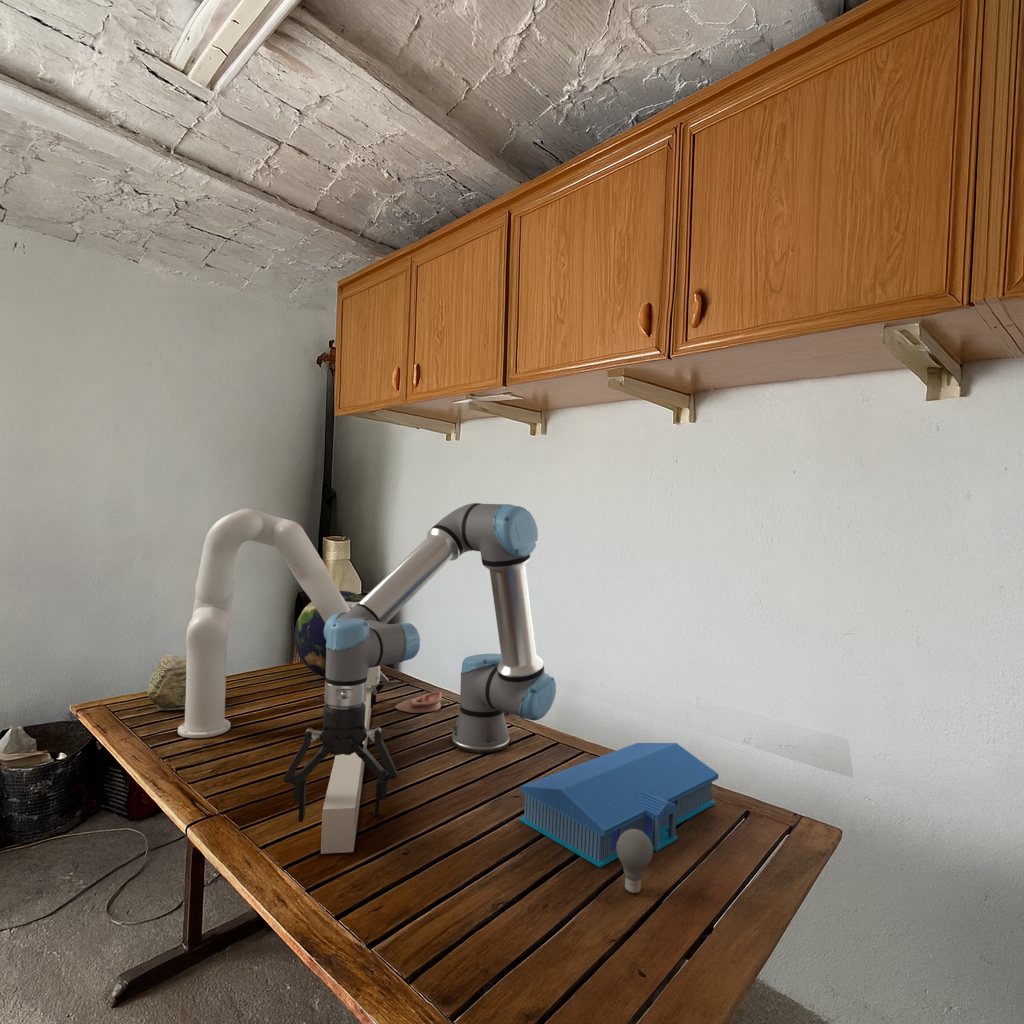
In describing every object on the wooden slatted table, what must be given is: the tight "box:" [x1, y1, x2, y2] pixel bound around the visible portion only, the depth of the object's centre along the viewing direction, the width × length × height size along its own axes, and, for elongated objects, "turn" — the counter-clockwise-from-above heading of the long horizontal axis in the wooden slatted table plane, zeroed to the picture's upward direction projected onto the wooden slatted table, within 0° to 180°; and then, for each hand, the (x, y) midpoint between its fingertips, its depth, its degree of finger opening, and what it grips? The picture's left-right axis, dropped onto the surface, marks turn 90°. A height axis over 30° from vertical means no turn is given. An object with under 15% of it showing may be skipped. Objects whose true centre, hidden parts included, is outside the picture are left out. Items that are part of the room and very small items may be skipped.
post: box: [320, 686, 372, 855], centre depth 150 cm, size 76×6×8 cm, turn 10°
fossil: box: [147, 654, 187, 712], centre depth 185 cm, size 9×18×15 cm, turn 132°
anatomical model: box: [394, 691, 443, 714], centre depth 193 cm, size 13×4×12 cm
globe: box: [293, 590, 365, 678], centre depth 220 cm, size 30×30×30 cm
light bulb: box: [616, 829, 654, 894], centre depth 106 cm, size 6×6×10 cm
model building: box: [519, 742, 719, 868], centre depth 132 cm, size 39×24×10 cm, turn 132°
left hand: (360, 706), depth 183 cm, fingers closed on post, 5 cm apart
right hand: (339, 817), depth 118 cm, fingers open, 13 cm apart
